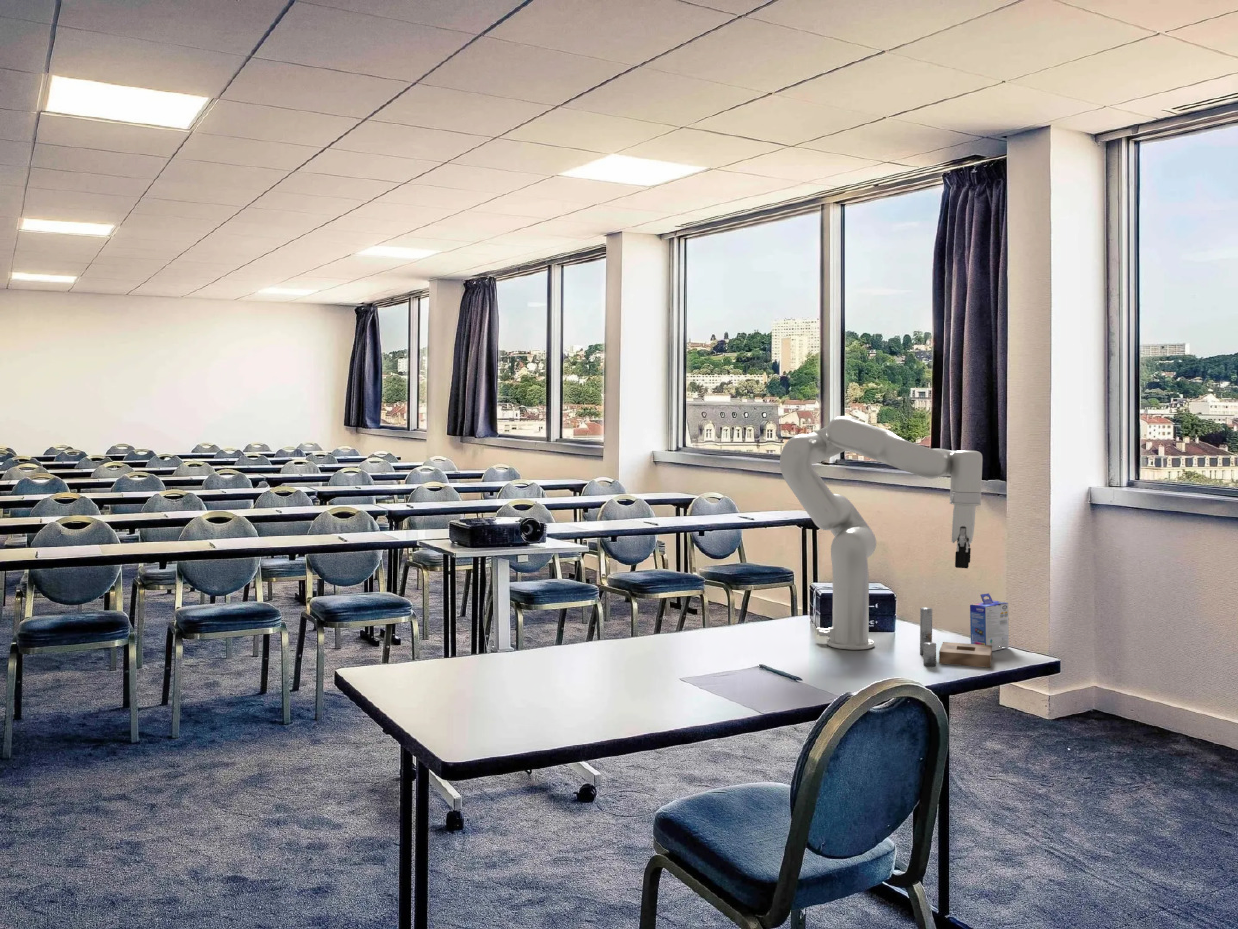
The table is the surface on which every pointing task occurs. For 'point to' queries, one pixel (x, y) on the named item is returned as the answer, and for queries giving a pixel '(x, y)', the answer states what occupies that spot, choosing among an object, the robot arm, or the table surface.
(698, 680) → the table surface
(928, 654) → the short pin
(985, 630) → the ink cartridge box
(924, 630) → the long pin
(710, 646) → the table surface
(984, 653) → the socket block
